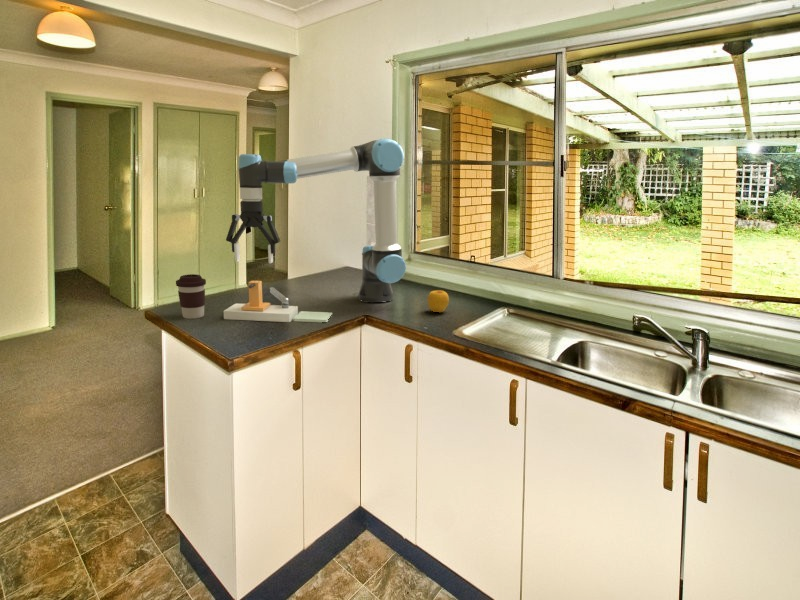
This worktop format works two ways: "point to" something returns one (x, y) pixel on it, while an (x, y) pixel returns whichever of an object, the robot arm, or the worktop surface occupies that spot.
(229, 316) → the socket block
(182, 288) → the coffee cup
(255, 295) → the plug
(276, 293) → the grey metal rod
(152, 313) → the worktop surface
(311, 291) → the worktop surface
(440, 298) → the apple
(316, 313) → the pad
